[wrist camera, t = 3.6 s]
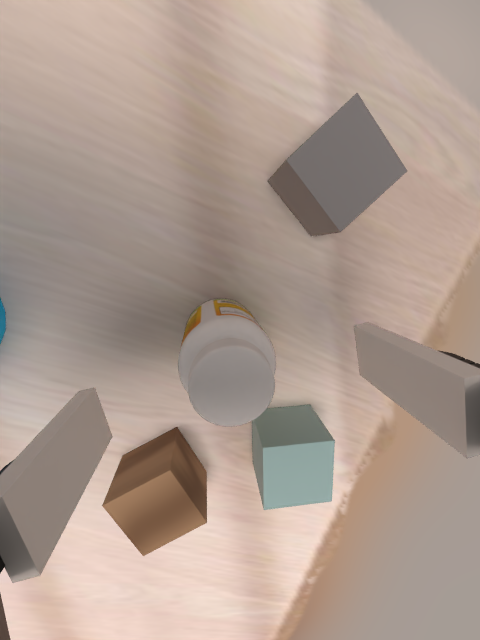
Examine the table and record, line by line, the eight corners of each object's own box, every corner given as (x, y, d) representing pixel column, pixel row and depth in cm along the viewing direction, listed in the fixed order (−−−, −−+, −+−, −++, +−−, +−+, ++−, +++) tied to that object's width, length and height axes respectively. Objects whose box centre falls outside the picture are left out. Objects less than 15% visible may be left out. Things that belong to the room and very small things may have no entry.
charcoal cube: (267, 181, 21) (286, 159, 16) (321, 130, 20) (357, 92, 16) (310, 236, 22) (340, 232, 17) (362, 189, 22) (407, 171, 17)
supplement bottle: (201, 375, 23) (199, 459, 14) (173, 313, 22) (150, 359, 13) (265, 349, 23) (305, 415, 14) (241, 286, 22) (267, 312, 13)
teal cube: (251, 409, 25) (262, 447, 20) (309, 404, 25) (334, 440, 20) (252, 461, 26) (263, 510, 21) (308, 455, 26) (331, 501, 21)
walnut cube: (122, 454, 24) (102, 505, 19) (177, 426, 24) (169, 470, 19) (154, 498, 25) (143, 556, 21) (206, 470, 25) (206, 522, 21)
